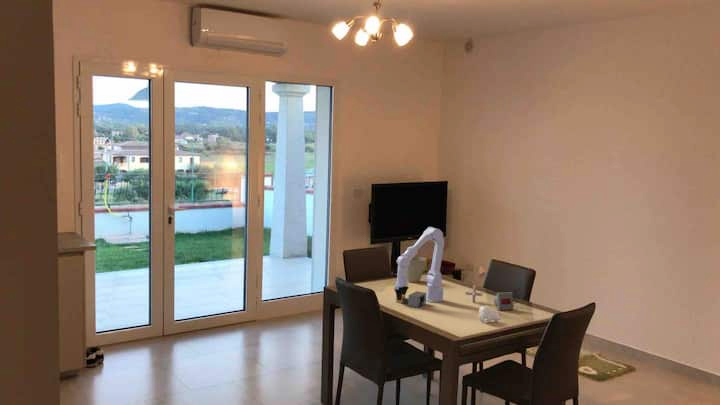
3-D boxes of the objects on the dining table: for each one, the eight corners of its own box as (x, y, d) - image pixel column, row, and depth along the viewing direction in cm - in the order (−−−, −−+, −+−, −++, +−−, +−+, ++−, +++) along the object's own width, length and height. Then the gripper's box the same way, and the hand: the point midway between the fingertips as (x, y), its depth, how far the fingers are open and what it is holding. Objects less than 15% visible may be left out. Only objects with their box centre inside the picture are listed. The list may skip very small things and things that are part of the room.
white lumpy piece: (478, 304, 326) (498, 306, 329) (475, 320, 326) (496, 321, 329) (483, 307, 320) (504, 309, 323) (480, 323, 320) (501, 325, 323)
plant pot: (427, 281, 418) (428, 258, 416) (420, 285, 404) (421, 261, 403) (406, 278, 424) (408, 255, 423) (399, 281, 410) (400, 258, 409)
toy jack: (482, 304, 360) (483, 288, 359) (464, 303, 362) (466, 286, 361) (482, 300, 370) (483, 284, 369) (465, 299, 372) (466, 283, 371)
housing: (425, 303, 356) (426, 292, 356) (417, 307, 346) (418, 296, 345) (416, 301, 359) (416, 291, 359) (407, 306, 349) (408, 295, 348)
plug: (423, 305, 353) (424, 298, 352) (421, 306, 349) (421, 299, 349) (398, 300, 360) (399, 293, 360) (395, 301, 356) (396, 295, 356)
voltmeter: (508, 313, 346) (509, 296, 345) (489, 309, 352) (490, 292, 351) (524, 304, 368) (525, 288, 367) (505, 301, 374) (507, 285, 373)
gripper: (401, 273, 364) (399, 295, 365) (390, 277, 351) (389, 300, 353) (411, 275, 361) (410, 297, 362) (401, 279, 348) (400, 302, 349)
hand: (400, 299), depth 357 cm, fingers closed on plug, 4 cm apart
